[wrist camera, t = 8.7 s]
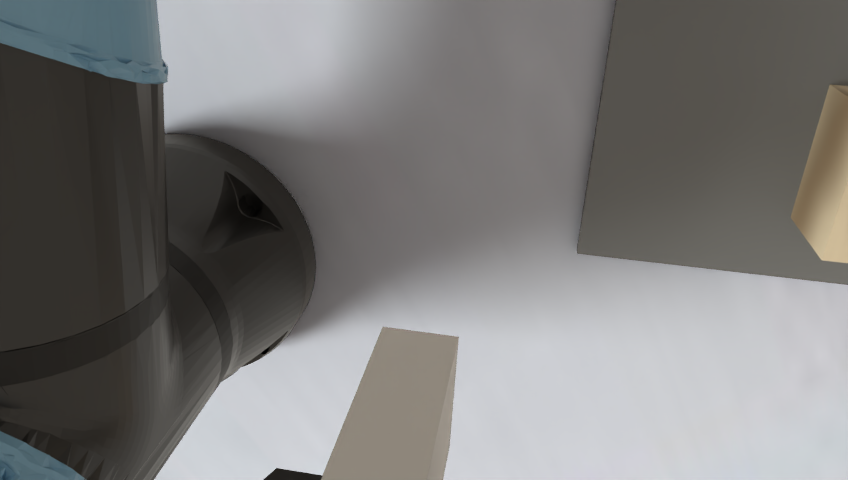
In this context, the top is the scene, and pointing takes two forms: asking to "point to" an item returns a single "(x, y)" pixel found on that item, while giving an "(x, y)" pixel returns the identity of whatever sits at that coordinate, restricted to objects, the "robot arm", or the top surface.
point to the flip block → (827, 182)
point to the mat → (712, 133)
